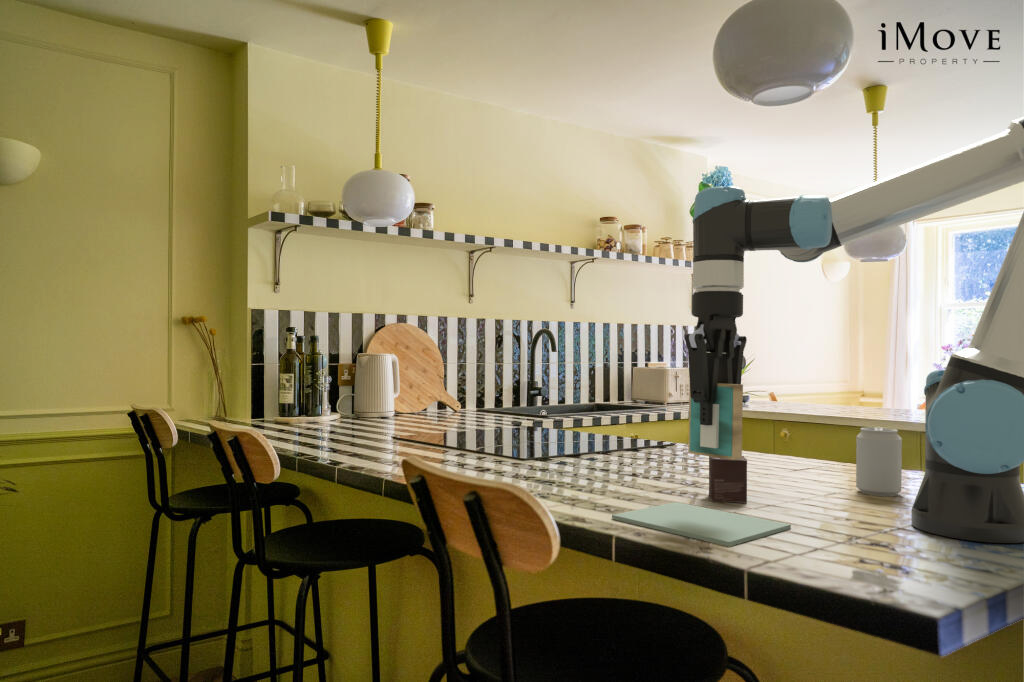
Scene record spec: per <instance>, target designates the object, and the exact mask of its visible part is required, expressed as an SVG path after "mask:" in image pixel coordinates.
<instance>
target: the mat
mask: <svg viewBox="0 0 1024 682" xmlns="http://www.w3.org/2000/svg"><path fill="white" fill-rule="evenodd" d="M611 519H612V520H615V521H620V522H624V523H628V524H632V525H635V526H640V527H646V528H649V529H653V530H657V531H660V532H661V531H662V532H667V533H669V534H673V535H674V534H675V535H679V536H683V537H688V538H691V539H696V540H700V541H705V542H708V543H713V544H715V545H716V544H717V545H720V546H725V547H732V546H736V544H737V545H740V544H742V543H747V542H749V541H753V540H757V539H760V538H763V537H767V536H772V535H774V534H777V533H782V532H784V531H788V530H791V529H792V524H790V523H784V522H778V521H774V520H769V519H765V518H759V517H754V516H749V515H743V514H740V513H739V514H738V513H733V512H730V511H724V510H719V509H715V508H714V509H713V508H708V507H702V506H699V505H698V506H697V505H693V504H688V503H684V502H677V501H674V502H669V503H664V504H660V505H654V506H649V507H644V508H639V509H634V510H630V511H624V512H620V513H619V512H618V513H615V514H612V515H611Z"/></svg>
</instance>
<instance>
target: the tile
mask: <svg viewBox="0 0 1024 682" xmlns="http://www.w3.org/2000/svg"><path fill="white" fill-rule="evenodd" d="M688 393H689V398H688V399H689V401H688V402H689V403H688V405H689V406H688V407H689V408H688V443H687V444H688V449H687V450H688V451H687V453H688V454H689V455H690V454H691V455H697V456H704V457H709V456H711V457H718V458H725V459H732V460H736V459H742V456H743V453H742V452H743V407H744V405H743V403H744V402H743V401H744V400H743V399H744V398H743V396H744V385H743V384H742V383H741V384H724V383H717V392H716V402H715V404H719V443H718V448H709V447H702V446H700V425H701V424H700V403H695V402H694V401H693V399H692V398H691V395H690V388H689V392H688Z"/></svg>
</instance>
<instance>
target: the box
mask: <svg viewBox="0 0 1024 682" xmlns="http://www.w3.org/2000/svg"><path fill="white" fill-rule="evenodd" d="M708 496H709V499H710V501H711V502H720V503H721V502H723V503H724V502H725V503H739V504H740V503H743V504H744V503H745V504H747V502H748V497H747V496H748V460H747V459H746V458H745V457H744V455H742V459H736V460H732V459H725V458H718V457H711V456H708Z"/></svg>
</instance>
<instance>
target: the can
mask: <svg viewBox="0 0 1024 682" xmlns="http://www.w3.org/2000/svg"><path fill="white" fill-rule="evenodd" d="M859 430H860V432H859V433H858V434H857V435H856V437H855V438H856V441H855V442H856V453H855V454H856V455H855V456H856V460H855V465H856V467H855V470H856V471H855V472H856V473H855V476H856V477H855V481H856V482H855V483H856V484H855V487H856V488H857V489H858V490H859V491H860V492H861V493H863V494H864V495H867V496H876V497H895V496H897V495H898V494H899V493H901V492H902V482H903V481H902V478H903V477H902V474H903V473H902V470H903V469H902V468H903V467H902V462H903V460H902V457H903V456H902V455H903V454H902V453H903V451H902V450H903V449H902V448H903V447H902V446H903V445H902V443H903V438H902V437H901V436H900V435H899V434H898V432H899V430H898V429H894V428H886V427H881V426H879V427H878V426H876V427H861V428H859Z"/></svg>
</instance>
